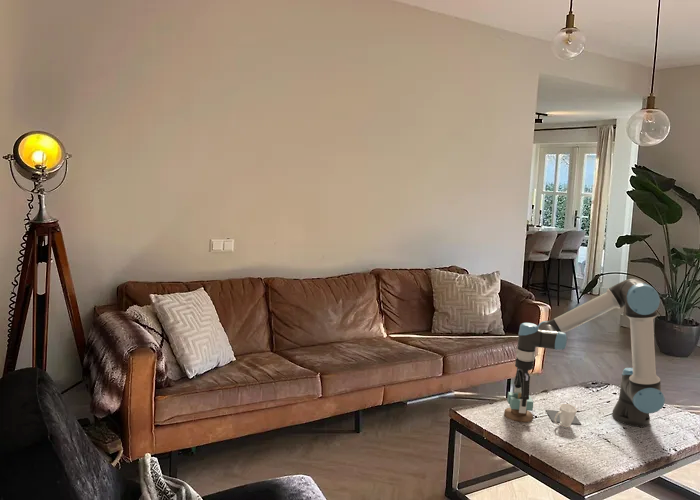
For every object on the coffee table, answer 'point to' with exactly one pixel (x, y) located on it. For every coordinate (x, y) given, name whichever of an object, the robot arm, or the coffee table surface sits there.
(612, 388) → the coffee table surface
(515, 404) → the link
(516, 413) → the stand
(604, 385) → the coffee table surface
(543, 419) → the coffee table surface
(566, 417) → the cup
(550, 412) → the mat
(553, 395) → the coffee table surface
